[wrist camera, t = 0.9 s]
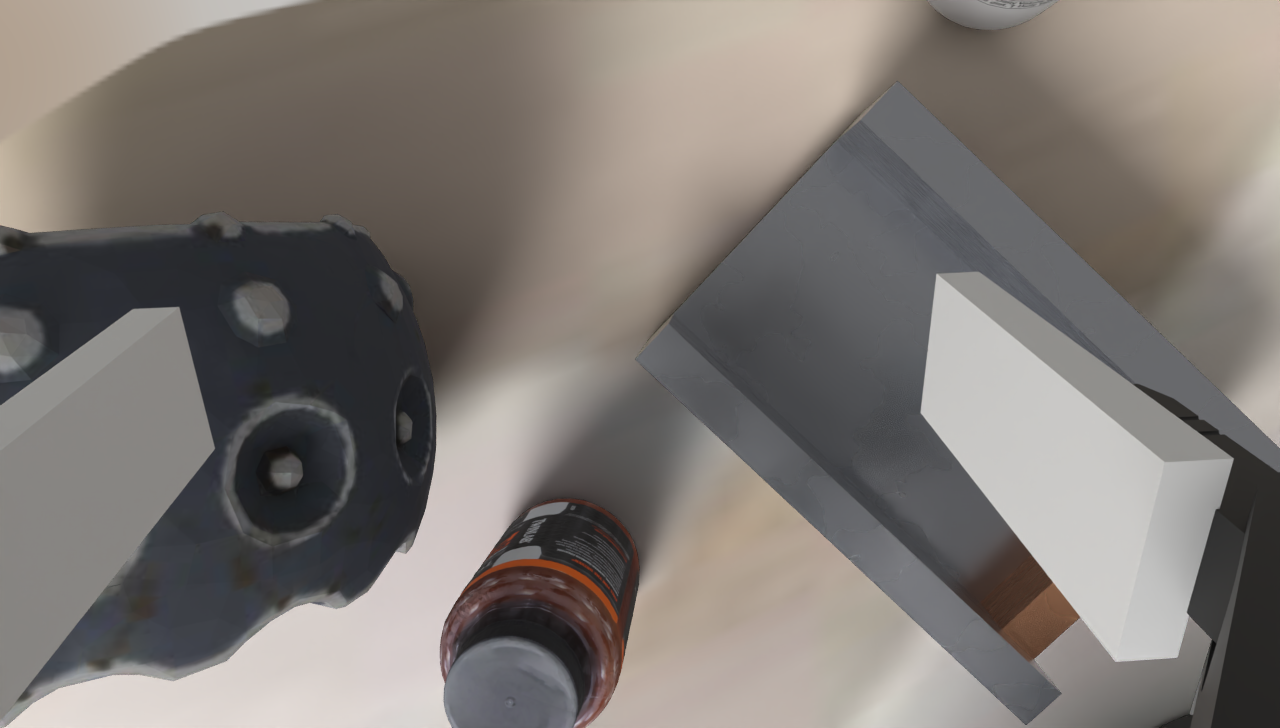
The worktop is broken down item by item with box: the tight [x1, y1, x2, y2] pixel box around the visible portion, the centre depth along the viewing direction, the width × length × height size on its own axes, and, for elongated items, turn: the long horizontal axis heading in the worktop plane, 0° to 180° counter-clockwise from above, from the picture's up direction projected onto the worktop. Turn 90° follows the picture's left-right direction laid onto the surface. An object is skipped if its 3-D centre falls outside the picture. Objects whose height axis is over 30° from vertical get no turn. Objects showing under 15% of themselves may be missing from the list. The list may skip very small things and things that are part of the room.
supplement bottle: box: [440, 499, 639, 728], centre depth 31 cm, size 6×6×11 cm
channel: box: [635, 81, 1280, 725], centre depth 31 cm, size 18×12×6 cm, turn 47°
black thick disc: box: [0, 212, 436, 728], centre depth 26 cm, size 11×20×20 cm, turn 97°
